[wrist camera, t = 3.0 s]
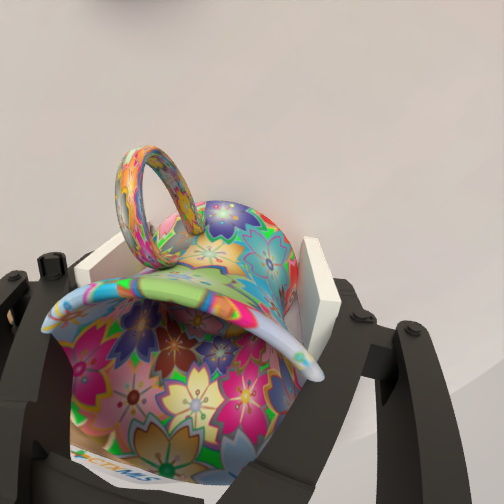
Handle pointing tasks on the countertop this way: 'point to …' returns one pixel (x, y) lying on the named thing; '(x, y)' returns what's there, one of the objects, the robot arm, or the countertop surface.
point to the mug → (185, 335)
